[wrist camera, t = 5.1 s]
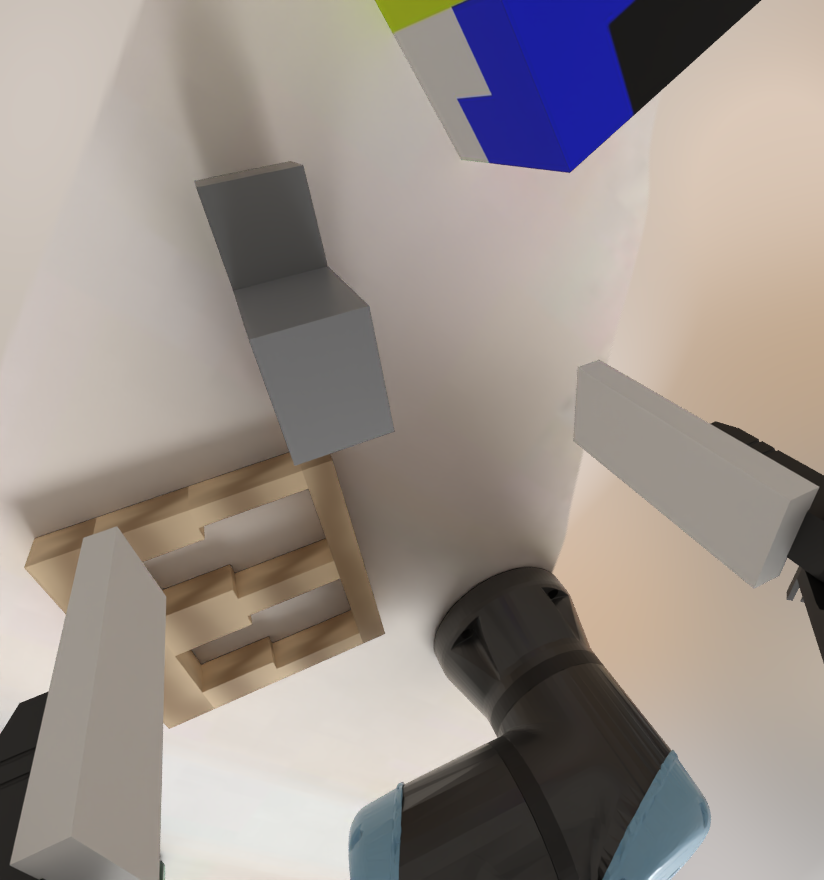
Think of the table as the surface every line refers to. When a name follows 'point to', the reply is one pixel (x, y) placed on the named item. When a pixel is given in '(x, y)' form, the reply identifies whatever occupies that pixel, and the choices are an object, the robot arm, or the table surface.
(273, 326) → the grey stepped block
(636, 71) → the puzzle toy
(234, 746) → the table surface
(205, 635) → the keyhole board
